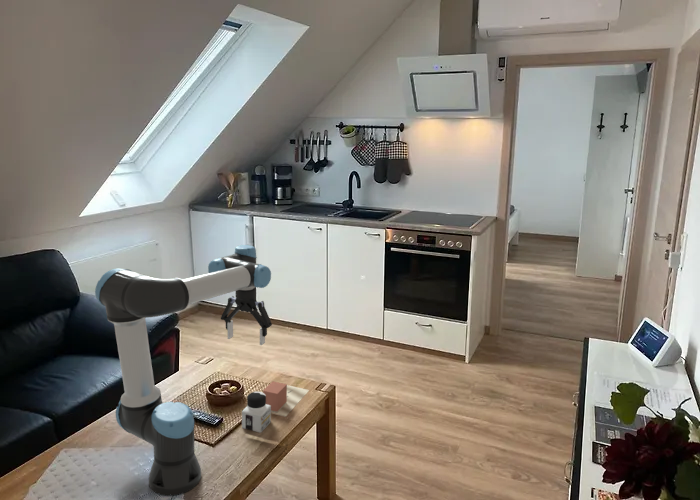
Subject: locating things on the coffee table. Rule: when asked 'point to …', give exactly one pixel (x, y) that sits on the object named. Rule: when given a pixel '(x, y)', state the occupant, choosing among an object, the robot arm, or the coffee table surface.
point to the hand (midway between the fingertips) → (246, 340)
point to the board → (291, 399)
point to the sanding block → (276, 395)
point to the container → (256, 412)
